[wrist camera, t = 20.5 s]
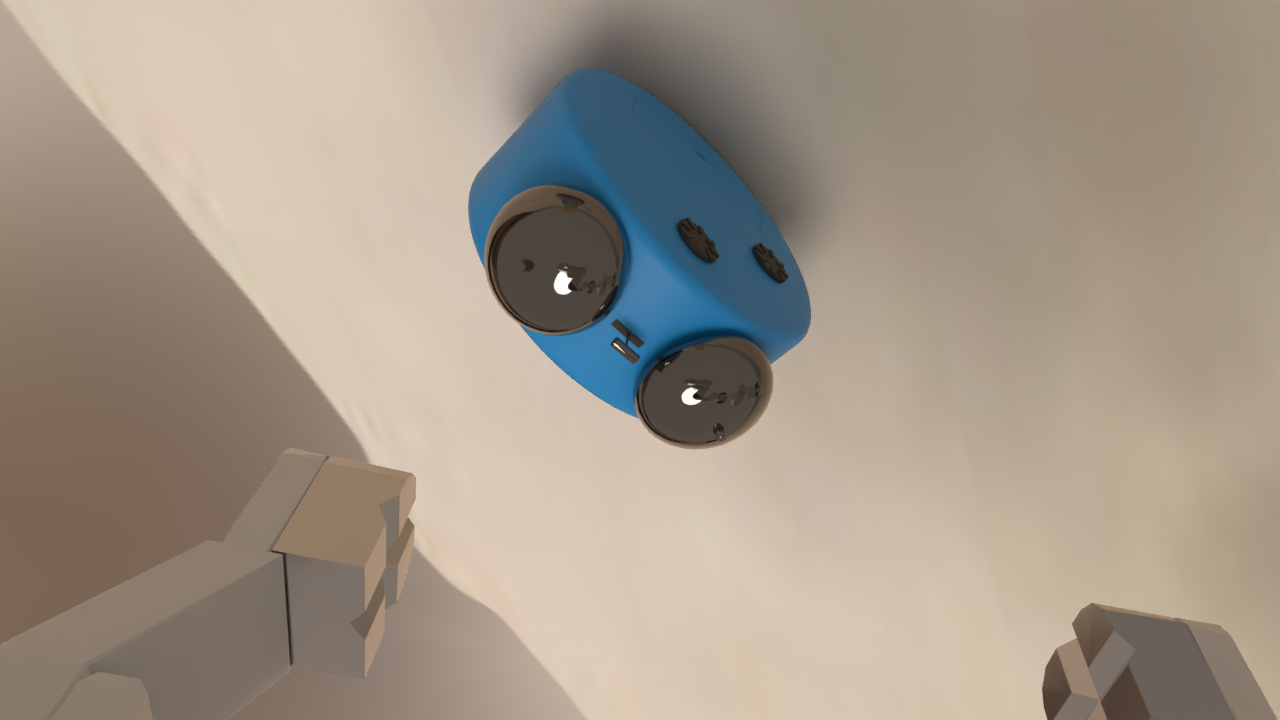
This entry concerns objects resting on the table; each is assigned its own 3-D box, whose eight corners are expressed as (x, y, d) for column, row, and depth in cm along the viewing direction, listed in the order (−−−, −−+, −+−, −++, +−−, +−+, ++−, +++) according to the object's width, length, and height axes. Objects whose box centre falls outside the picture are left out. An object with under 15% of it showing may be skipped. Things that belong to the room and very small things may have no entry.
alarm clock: (506, 125, 41) (400, 286, 28) (600, 22, 38) (528, 151, 26) (712, 313, 45) (699, 526, 33) (810, 232, 42) (837, 431, 30)
